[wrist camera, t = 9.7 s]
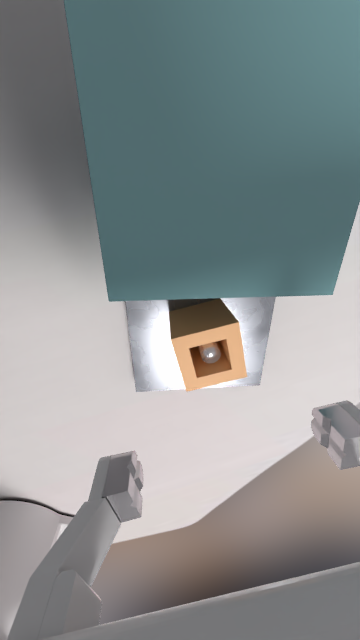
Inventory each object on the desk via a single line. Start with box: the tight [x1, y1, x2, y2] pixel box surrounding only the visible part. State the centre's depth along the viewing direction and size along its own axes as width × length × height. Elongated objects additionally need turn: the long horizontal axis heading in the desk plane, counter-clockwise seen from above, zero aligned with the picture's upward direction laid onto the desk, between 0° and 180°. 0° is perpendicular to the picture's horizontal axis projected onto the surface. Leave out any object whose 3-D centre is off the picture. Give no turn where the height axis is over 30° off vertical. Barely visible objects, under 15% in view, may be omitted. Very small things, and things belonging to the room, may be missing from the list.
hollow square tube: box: [169, 299, 247, 391], centre depth 17 cm, size 5×5×5 cm
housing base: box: [125, 297, 275, 392], centre depth 16 cm, size 24×13×6 cm, turn 0°
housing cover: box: [64, 0, 360, 301], centre depth 12 cm, size 12×12×6 cm
